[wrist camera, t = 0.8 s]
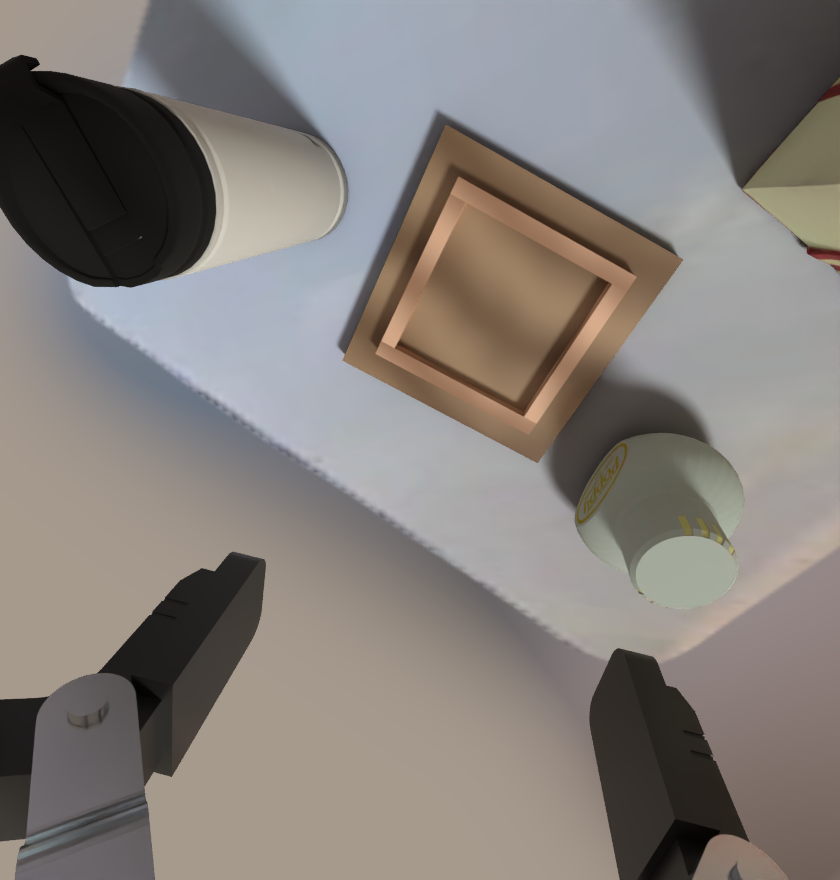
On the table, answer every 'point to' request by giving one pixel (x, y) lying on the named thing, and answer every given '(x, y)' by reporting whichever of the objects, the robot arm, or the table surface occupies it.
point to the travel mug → (152, 180)
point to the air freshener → (665, 518)
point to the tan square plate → (503, 297)
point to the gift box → (807, 180)
